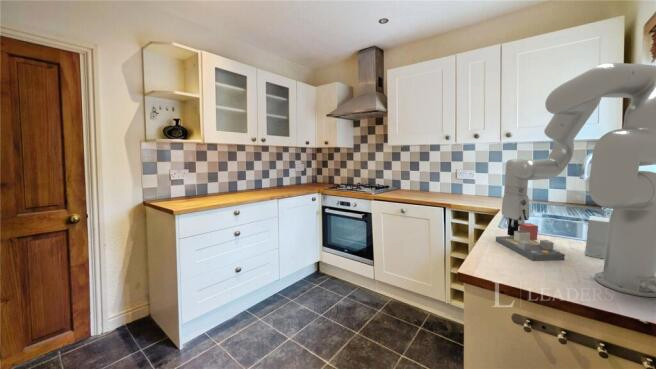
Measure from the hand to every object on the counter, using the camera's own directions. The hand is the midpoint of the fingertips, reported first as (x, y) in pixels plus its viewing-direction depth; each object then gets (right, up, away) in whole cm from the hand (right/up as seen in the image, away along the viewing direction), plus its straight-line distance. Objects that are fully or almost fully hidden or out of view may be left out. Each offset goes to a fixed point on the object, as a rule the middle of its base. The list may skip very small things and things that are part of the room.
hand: (512, 235), depth 111 cm
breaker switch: (0, -1, -5) cm, 5 cm away
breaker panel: (0, -4, -8) cm, 9 cm away
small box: (+21, -5, -13) cm, 26 cm away
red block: (+10, -2, +5) cm, 12 cm away
